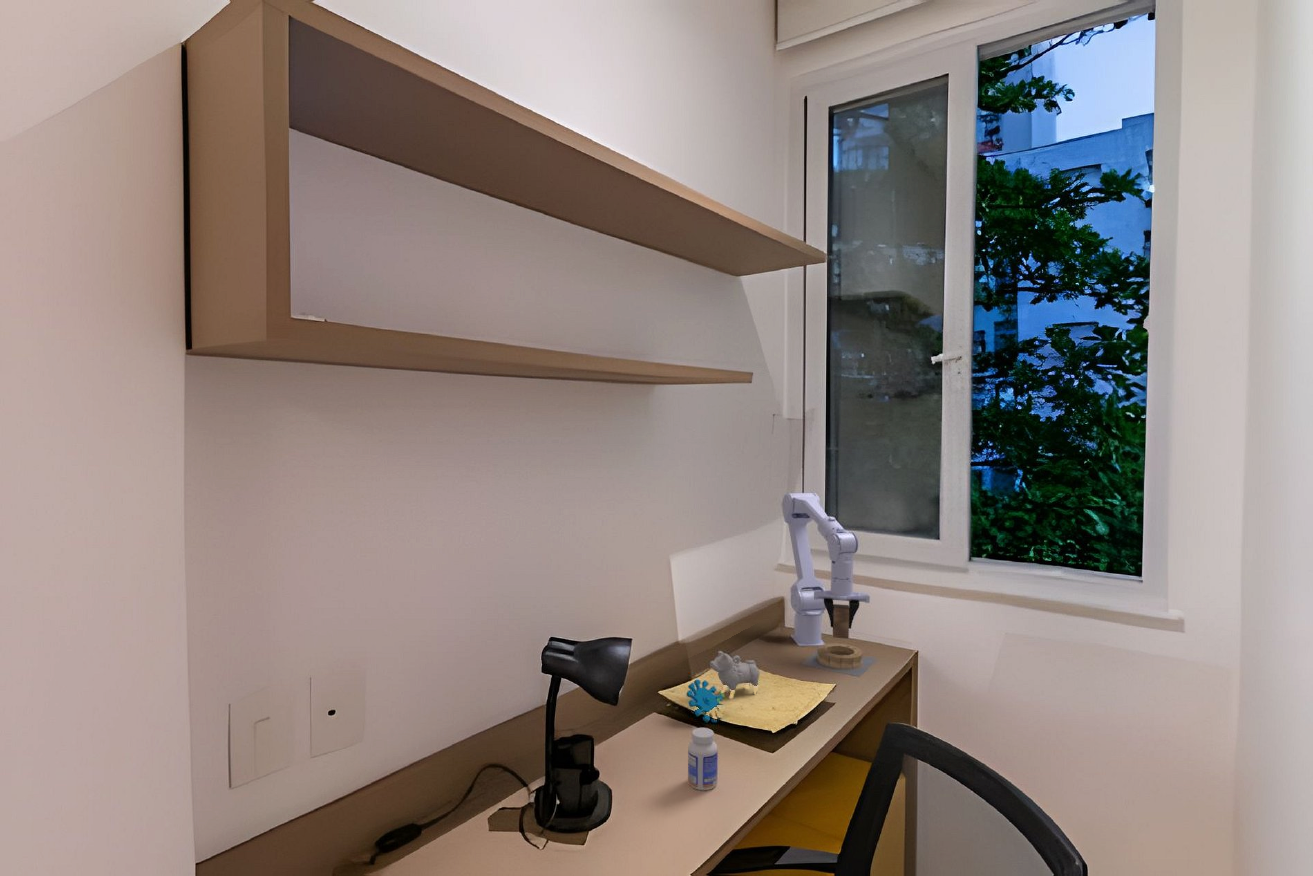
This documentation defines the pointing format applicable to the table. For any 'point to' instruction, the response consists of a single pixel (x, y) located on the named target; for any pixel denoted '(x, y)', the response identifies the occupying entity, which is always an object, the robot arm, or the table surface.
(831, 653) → the tan stone ring
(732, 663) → the grey dog figurine
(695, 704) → the blue knobby piece
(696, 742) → the pill bottle
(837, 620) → the walnut peg
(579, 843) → the table surface
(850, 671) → the craft mat
